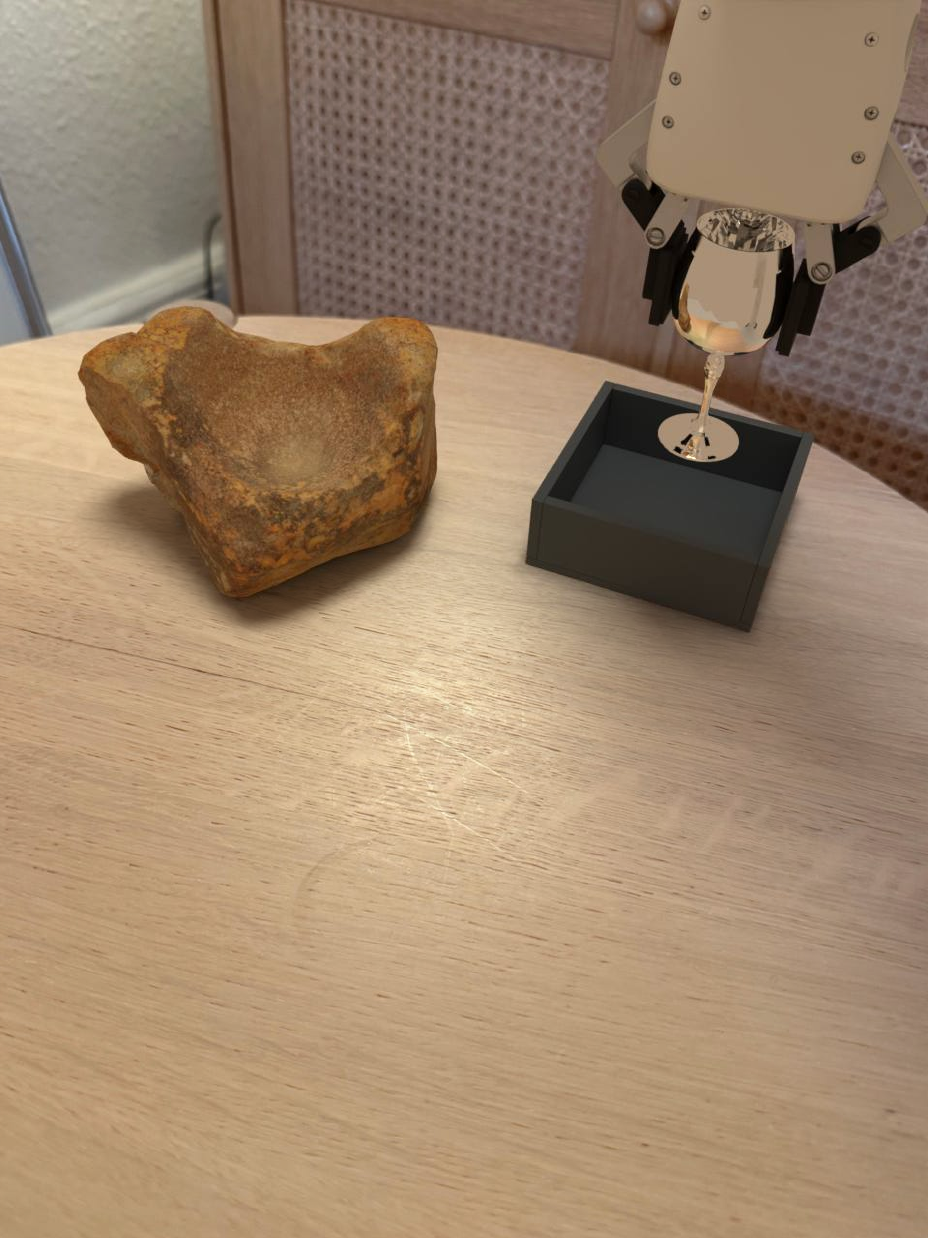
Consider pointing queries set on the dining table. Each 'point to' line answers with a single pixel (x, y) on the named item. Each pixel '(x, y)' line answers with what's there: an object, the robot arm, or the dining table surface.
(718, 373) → the wineglass
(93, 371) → the rough brown rock
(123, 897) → the dining table surface
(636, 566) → the dish tub
